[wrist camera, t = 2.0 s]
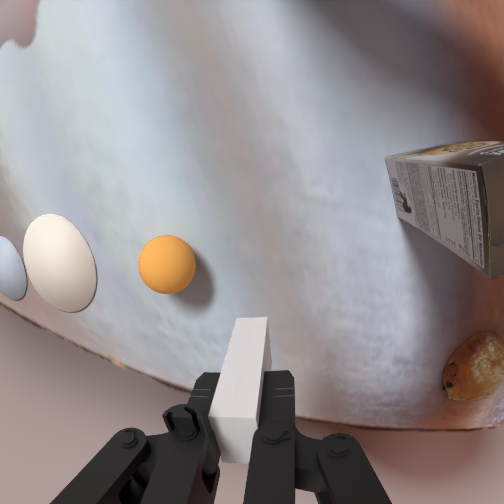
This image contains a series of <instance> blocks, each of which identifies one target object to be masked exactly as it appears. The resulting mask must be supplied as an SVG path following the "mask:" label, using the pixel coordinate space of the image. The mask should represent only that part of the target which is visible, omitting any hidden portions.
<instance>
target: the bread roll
mask: <svg viewBox="0 0 504 504" xmlns="http://www.w3.org/2000/svg"><path fill="white" fill-rule="evenodd" d="M503 379H504V341H503V339H502V338H501V337H500V336H499V335H497V334H495V333H492V332H482V333H478V334H476V335H474V336H473V337H471V338H470V339H469V340H468V341H467V342H465V343H464V344H463V345H461V346H460V347H459V348H458V349H457V350H456V351H455V352H454V353H453V354H452V356H451V357H450V359H449V360H448V362H447V364H446V366H445V369H444V373H443V388H442V390H447V393H448V398H449V399H453V400H463V401H477V400H481V399H485V398H488V397H490V396H491V395H493V394H494V392H495V391H496V390H497V389H498V388H499V386H500V384H501V383H502V381H503Z"/></svg>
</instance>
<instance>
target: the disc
mask: <svg viewBox="0 0 504 504" xmlns="http://www.w3.org/2000/svg"><path fill="white" fill-rule="evenodd" d="M23 253H24V262H25V266H26V270H27V273H28V275H29V278H30V280H31V282H32V284H33V286H34V287H35V289H36V290H37V292H38V293H39V294H40V295H41V297H42V298H43V299H44V300H45V301H46V302H48V303H49V304H50V305H52V306H53V307H55V308H57V309H59V310H62V311H65V312H75V311H79V310H81V309H83V308H84V307H86V306H87V305H88V304H89V302H90V301H91V299H92V298H93V295H94V292H95V289H96V267H95V262H94V258H93V255H92V252H91V250H90V247H89V245H88V243H87V241H86V240H85V238H84V236H83V235H82V234H81V232H80V231H79V230H78V229H77V227H76V226H75V225H74V224H72V223H71V222H70V221H69V220H67V219H66V218H64V217H62V216H60V215H56V214H45V215H42V216H39V217H38V218H36V219H35V220H34V221H33V222H32V223H31V224H30V226H29V228H28V229H27V232H26V235H25V238H24V246H23Z"/></svg>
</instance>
